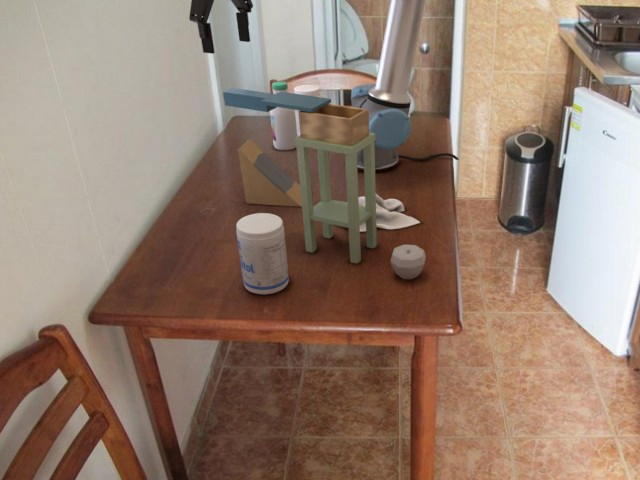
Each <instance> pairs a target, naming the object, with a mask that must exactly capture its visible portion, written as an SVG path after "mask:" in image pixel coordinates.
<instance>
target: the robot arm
mask: <svg viewBox="0 0 640 480" xmlns="http://www.w3.org/2000/svg"><path fill="white" fill-rule="evenodd" d="M230 1H231V3H232V4H233V6H234V7H235V8H236V10H237V11H238V12H235V16H236V22H237V24H236V25H237V32H238V40H239V42H246V43H250V42H251V36H250V28H249V26H250V23H249V13H252V9H253V8H254V4H253V2H252V0H230ZM214 2H215V0H191V2H190V10H189V15H188V16H189V17H188V19H189V21H190V22H193V23H195V24H197V29H198V36H199V38H200V41H201V46H202V52H203V54H204V53H205V54H211V55H212V54H215V53H216V52H215V47H214V40H213V33H212V26H211V22H208V21H209V17H210V14H211V12H212V8H213V5H214ZM425 5H426V0H390V1H389V7H388V13H387V18H386V23H385V29H384V36H383V41H382V46H381V51H380V58H379V63H378V68H377V74H376V81H375V83H369V84H361V85H360V84H359V85H357V86H354V87H352V89H351V93H350V95H351V96H350V100H351V102H350V103H351V107H355V108H361V109H368V110H369V133H374V134H375V141H374V149H375V173H383V172H387V171H390V170H393V169H395V168H396V167H398V165H399V164H400V159H403V160H409V161H412V162H413V161H415V162H423V161H428V160H430V159H433V158H439V157H451V158H452V159H454V160H456V161H459V160H460V159H459V157H457V156H456V155H455V154H453V153H451V152H450V153H449V152H440V153H436V154H435V153H434V154H430V155H427V156H426V157H411V156H406V155H401V154H399V153H398V150H397V148H399V147H401V146H402V145H404V144H405V143H406V141H407V140H408V139H409V138H410V135H411V132H412V122H411V119H410V116H409V114H410V108H411V104H412V99H411V96H410V95H409V94H408V90H409V84H410V79H411V76H412V70H413V65H414V60H415V55H416V51H417V45H418V40H419V35H420V31H421V25H422V22H423V21H422V20H423V15H424V11H425ZM357 172H363V173H364V153H363V149H362V150H360V151H359V152H357Z"/></svg>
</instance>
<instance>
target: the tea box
mask: <svg viewBox="0 0 640 480" xmlns="http://www.w3.org/2000/svg"><path fill="white" fill-rule="evenodd" d="M299 123H300V133H301V134H300V135H301V137H303V138H309V139H314V140H320V141H326V142H332V143H338V144H344V145H349V146H353V145H354V144H356V143H357V142H359V141H360V140H362V139H363V138H365V137H367V136H368V135H369V110H368V109H361V108H355V107H352V106H348V105H340V104H333V103H329V104H327V105H325V106H323V107H321V108H320V109H318V110H316V111H314V112H307V111H299Z"/></svg>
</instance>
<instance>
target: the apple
mask: <svg viewBox="0 0 640 480" xmlns="http://www.w3.org/2000/svg"><path fill="white" fill-rule="evenodd" d="M426 258H427V255H426V252H425V250H424V249H423V248H421V247H420V246H418V245H416V244H402V245H399V246H396V247H394V248H393V251H392V253H391V258H390V260H389V261H390V264H391V267H392V270H393V272H394V273H395V274H396V275H397V276H399V277H400V278H401V279H403V280H413V279H415V278H417V277H419V275H421V273H422V271H423V269H424V266H425V264H426V263H425V262H426Z"/></svg>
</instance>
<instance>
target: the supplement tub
mask: <svg viewBox="0 0 640 480" xmlns="http://www.w3.org/2000/svg"><path fill="white" fill-rule="evenodd" d="M235 226H236V239H237V240H236V241H237V249H238V253H239V262H240V268H241V275H242V281H243V286H244V288H245V289H246V291H249V292H250V293H253V294H256V295H271V294H272V295H273V294H276V293H278V292H280V291H282V290H284V289H285V288H286V287H287V286H288V284H289V281H290V278H289V277H290V276H289V265H288V256H287V244H286V234H285V233H286V232H285V226H284V222H283V218H281V217H280V216H278V215H276V214H273V213H267V212H258V213H251V214H248V215H246V216H243V217H241V218H240V219H239V220H238V221H237V222H236V225H235Z"/></svg>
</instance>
